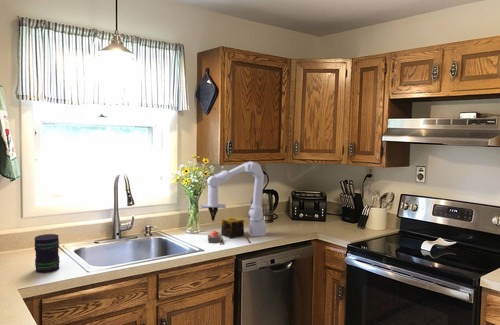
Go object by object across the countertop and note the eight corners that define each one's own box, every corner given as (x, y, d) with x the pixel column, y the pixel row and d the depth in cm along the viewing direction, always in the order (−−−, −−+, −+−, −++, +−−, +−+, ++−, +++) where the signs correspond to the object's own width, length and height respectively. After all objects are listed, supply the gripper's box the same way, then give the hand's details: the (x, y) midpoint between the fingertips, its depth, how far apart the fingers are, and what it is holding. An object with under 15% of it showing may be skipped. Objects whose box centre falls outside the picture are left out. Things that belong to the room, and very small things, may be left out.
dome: (217, 238, 238) (217, 229, 238) (218, 240, 234) (218, 231, 234) (210, 238, 237) (210, 230, 237) (210, 240, 233) (210, 231, 233)
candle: (230, 238, 242) (230, 221, 241) (220, 235, 249) (220, 218, 249) (244, 236, 248) (244, 219, 247) (234, 232, 256) (234, 216, 255)
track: (243, 232, 256) (243, 231, 256) (251, 243, 232) (251, 242, 232) (215, 233, 253) (215, 232, 253) (219, 244, 229) (219, 243, 229)
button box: (219, 239, 240) (219, 234, 239) (220, 242, 233) (220, 237, 233) (207, 239, 238) (207, 234, 238) (208, 243, 232) (208, 237, 232)
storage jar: (63, 265, 192) (62, 234, 190) (54, 273, 182) (53, 239, 181) (41, 265, 191) (40, 234, 190) (31, 273, 182) (29, 239, 180)
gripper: (224, 195, 246) (224, 218, 247) (200, 196, 243) (200, 219, 245) (226, 197, 239) (226, 221, 240) (200, 198, 237) (200, 221, 238)
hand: (213, 220), depth 242 cm, fingers closed
